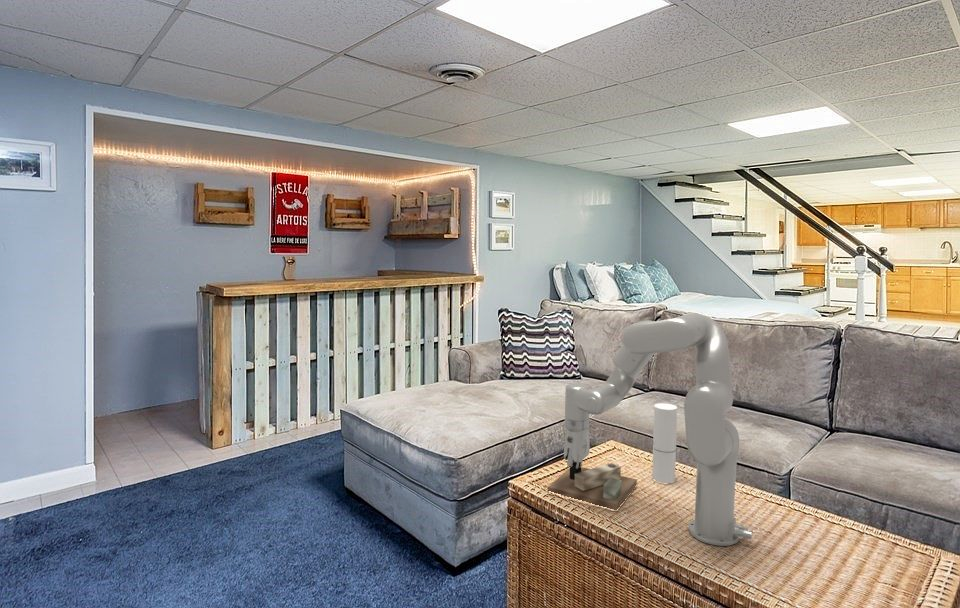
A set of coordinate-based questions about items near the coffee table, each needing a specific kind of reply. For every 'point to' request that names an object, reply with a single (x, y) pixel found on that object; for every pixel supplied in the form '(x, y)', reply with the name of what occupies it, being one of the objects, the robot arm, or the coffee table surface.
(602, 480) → the folding leg
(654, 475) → the cylindrical container
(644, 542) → the coffee table surface
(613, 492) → the brown board with blocks
